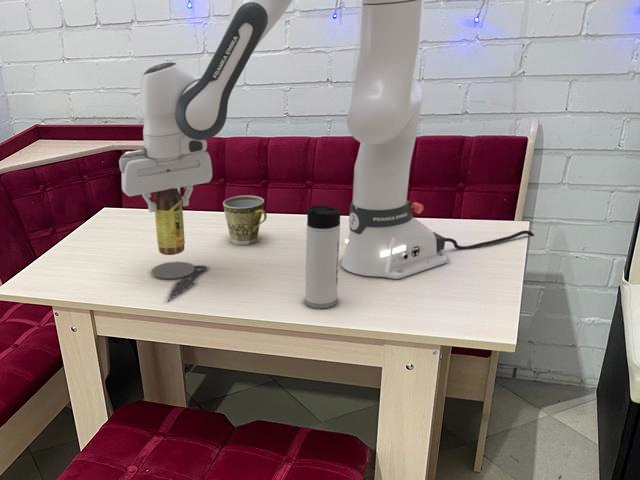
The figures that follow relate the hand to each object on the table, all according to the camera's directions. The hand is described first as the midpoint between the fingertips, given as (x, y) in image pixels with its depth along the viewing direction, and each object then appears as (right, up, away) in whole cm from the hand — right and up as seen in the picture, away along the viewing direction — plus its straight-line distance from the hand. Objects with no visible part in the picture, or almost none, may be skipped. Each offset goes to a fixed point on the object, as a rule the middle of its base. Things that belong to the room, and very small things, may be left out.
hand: (168, 208), depth 167 cm
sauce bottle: (+1, -9, +5) cm, 10 cm away
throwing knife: (+4, -17, +1) cm, 18 cm away
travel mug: (+30, -23, -14) cm, 40 cm away
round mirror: (+1, -13, +8) cm, 15 cm away
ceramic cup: (+21, -4, +20) cm, 29 cm away
